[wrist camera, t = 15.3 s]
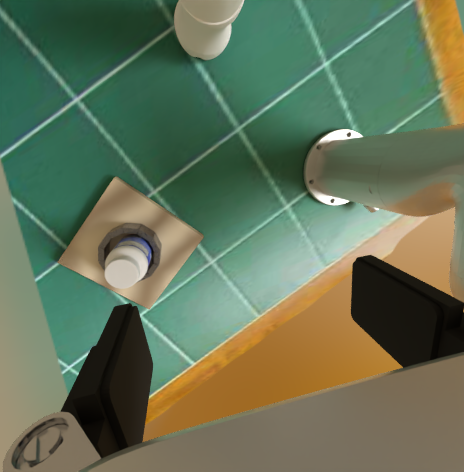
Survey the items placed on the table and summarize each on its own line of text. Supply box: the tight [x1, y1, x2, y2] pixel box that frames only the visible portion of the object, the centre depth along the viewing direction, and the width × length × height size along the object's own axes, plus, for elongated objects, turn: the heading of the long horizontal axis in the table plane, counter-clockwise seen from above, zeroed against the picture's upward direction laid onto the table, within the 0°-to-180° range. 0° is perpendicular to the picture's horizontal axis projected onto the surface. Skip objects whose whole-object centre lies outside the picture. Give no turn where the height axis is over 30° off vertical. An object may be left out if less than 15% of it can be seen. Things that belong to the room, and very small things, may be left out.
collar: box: [98, 223, 162, 283], centre depth 38 cm, size 9×9×3 cm
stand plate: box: [58, 177, 204, 309], centre depth 40 cm, size 16×16×2 cm
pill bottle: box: [105, 234, 153, 289], centre depth 35 cm, size 5×5×10 cm
